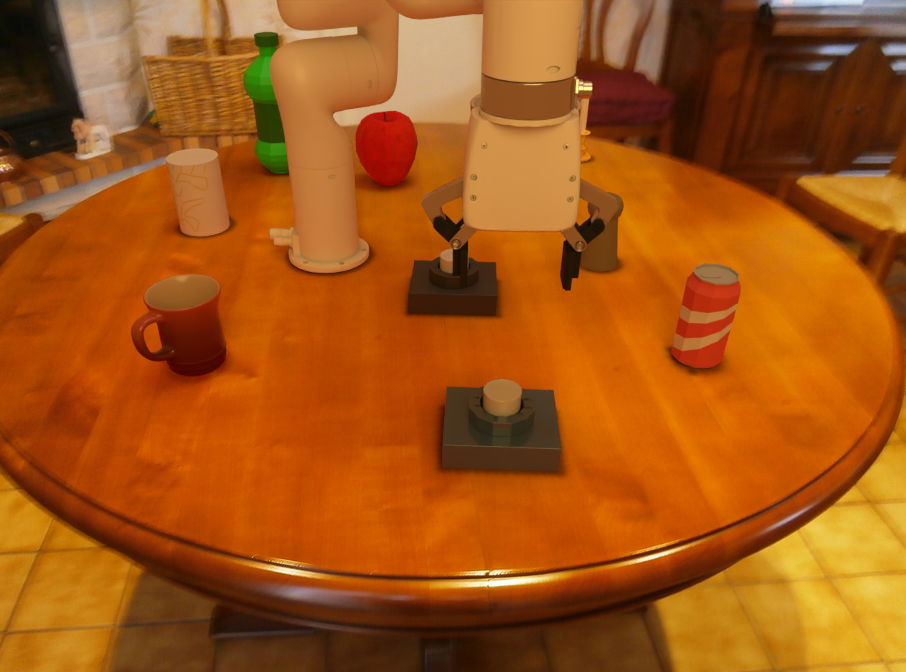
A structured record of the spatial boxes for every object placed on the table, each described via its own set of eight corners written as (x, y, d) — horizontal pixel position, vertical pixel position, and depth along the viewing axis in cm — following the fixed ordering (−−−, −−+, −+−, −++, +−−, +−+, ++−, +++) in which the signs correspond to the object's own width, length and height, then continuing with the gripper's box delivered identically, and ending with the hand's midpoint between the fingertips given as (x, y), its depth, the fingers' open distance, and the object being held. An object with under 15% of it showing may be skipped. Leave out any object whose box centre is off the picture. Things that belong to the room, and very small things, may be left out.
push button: (439, 274, 101) (439, 260, 100) (440, 261, 105) (440, 248, 103) (468, 275, 101) (468, 261, 100) (468, 261, 105) (469, 248, 103)
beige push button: (482, 416, 76) (483, 400, 75) (482, 393, 79) (483, 378, 78) (521, 418, 76) (522, 402, 75) (519, 394, 79) (521, 379, 78)
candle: (576, 152, 156) (585, 75, 147) (595, 158, 153) (606, 80, 144) (560, 157, 154) (568, 79, 145) (579, 164, 150) (588, 84, 141)
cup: (170, 231, 123) (154, 161, 116) (200, 213, 130) (187, 145, 123) (210, 239, 121) (197, 168, 114) (239, 220, 127) (228, 152, 120)
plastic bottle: (258, 161, 151) (239, 29, 137) (309, 159, 152) (296, 28, 138) (253, 179, 143) (233, 40, 129) (308, 176, 144) (294, 39, 130)
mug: (200, 337, 97) (184, 267, 91) (249, 357, 93) (236, 285, 87) (125, 383, 88) (102, 309, 82) (175, 406, 85) (156, 331, 79)
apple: (384, 167, 149) (381, 99, 141) (431, 179, 143) (431, 109, 135) (345, 184, 141) (340, 113, 133) (393, 198, 135) (390, 125, 128)
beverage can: (664, 344, 96) (682, 261, 89) (714, 345, 95) (736, 261, 88) (675, 371, 91) (695, 285, 84) (727, 372, 90) (752, 286, 83)
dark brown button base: (409, 313, 102) (408, 281, 99) (414, 279, 110) (414, 248, 107) (495, 316, 101) (497, 283, 98) (495, 281, 109) (496, 250, 107)
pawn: (617, 273, 112) (628, 204, 105) (576, 269, 113) (585, 201, 106) (617, 255, 116) (627, 189, 110) (578, 252, 117) (587, 186, 111)
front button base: (442, 468, 76) (442, 431, 73) (446, 408, 85) (446, 373, 82) (558, 472, 76) (563, 435, 73) (551, 412, 84) (555, 376, 81)
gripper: (625, 85, 63) (600, 266, 72) (423, 83, 63) (425, 263, 73) (642, 109, 57) (612, 304, 66) (417, 107, 57) (420, 300, 67)
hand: (514, 282), depth 70 cm, fingers open, 9 cm apart
